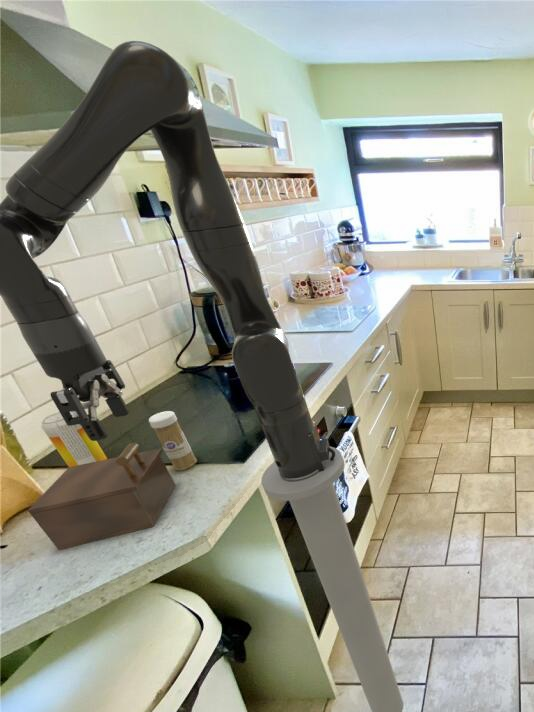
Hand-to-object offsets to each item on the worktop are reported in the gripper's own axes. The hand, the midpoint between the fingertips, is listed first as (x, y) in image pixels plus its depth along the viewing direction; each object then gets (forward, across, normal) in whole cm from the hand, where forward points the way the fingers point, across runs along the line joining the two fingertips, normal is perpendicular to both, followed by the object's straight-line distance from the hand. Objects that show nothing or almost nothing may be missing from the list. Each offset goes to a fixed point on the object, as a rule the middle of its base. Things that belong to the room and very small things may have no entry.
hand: (112, 426), depth 76 cm
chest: (+19, 0, +6) cm, 20 cm away
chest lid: (+10, 0, +6) cm, 12 cm away
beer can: (+20, +20, +19) cm, 34 cm away
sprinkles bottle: (+20, +14, -1) cm, 24 cm away
